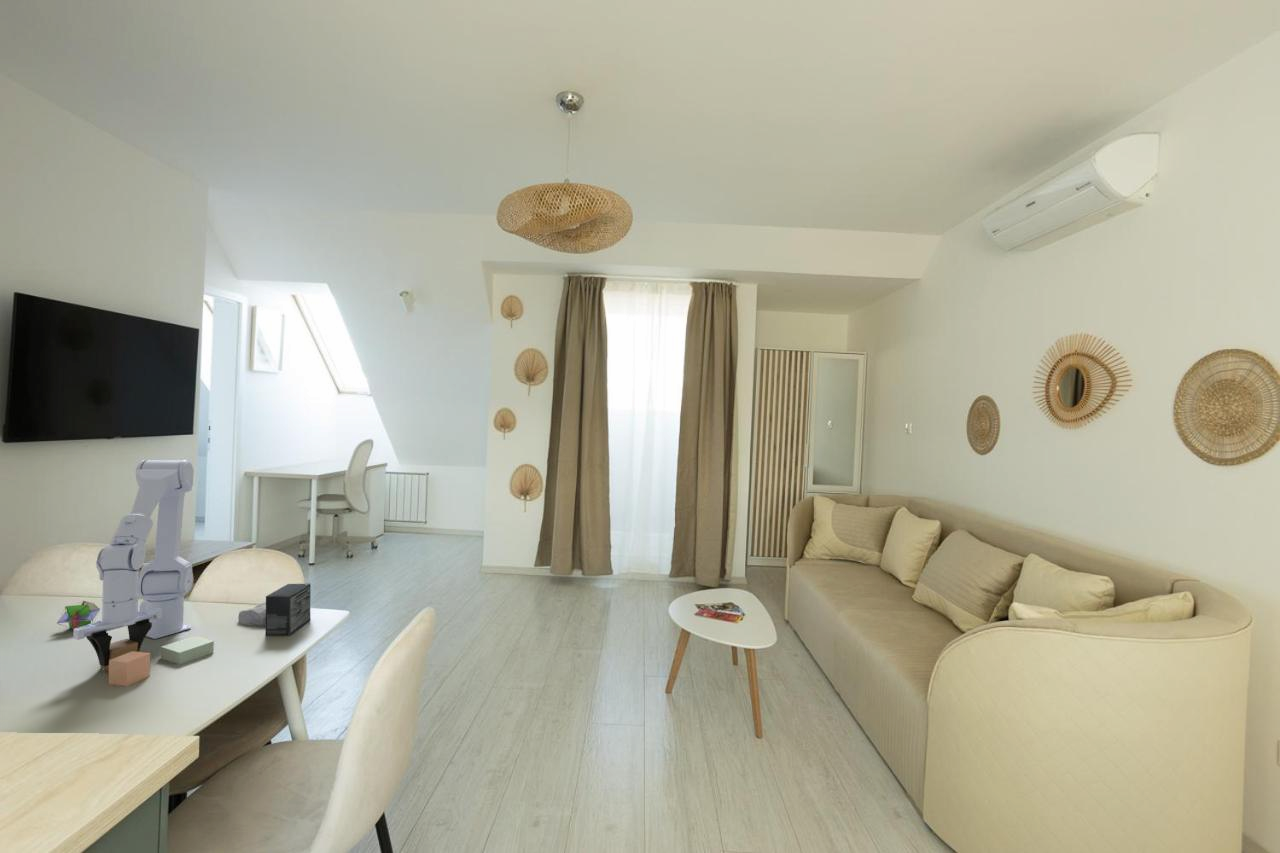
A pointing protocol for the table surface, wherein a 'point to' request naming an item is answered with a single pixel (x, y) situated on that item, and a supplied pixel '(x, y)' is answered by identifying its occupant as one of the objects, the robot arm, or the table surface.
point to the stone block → (254, 615)
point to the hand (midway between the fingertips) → (119, 660)
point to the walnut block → (120, 649)
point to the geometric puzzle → (79, 615)
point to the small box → (287, 609)
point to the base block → (187, 649)
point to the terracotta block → (129, 668)
